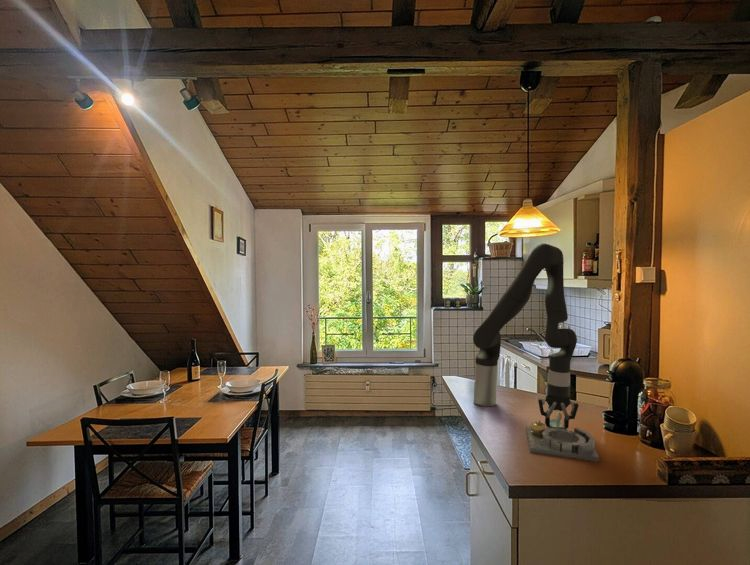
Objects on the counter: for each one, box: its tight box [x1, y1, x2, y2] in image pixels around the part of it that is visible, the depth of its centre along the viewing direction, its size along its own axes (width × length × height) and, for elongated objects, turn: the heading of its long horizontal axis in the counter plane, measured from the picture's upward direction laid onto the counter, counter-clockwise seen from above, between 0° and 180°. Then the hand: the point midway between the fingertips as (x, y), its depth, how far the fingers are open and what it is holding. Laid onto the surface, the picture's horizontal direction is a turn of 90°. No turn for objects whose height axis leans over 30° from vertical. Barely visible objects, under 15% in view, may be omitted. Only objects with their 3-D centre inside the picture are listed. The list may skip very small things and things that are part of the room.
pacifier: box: [545, 411, 565, 429], centre depth 151 cm, size 7×6×6 cm
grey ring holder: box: [525, 420, 600, 463], centre depth 138 cm, size 20×18×6 cm
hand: (556, 427), depth 152 cm, fingers closed on pacifier, 5 cm apart
